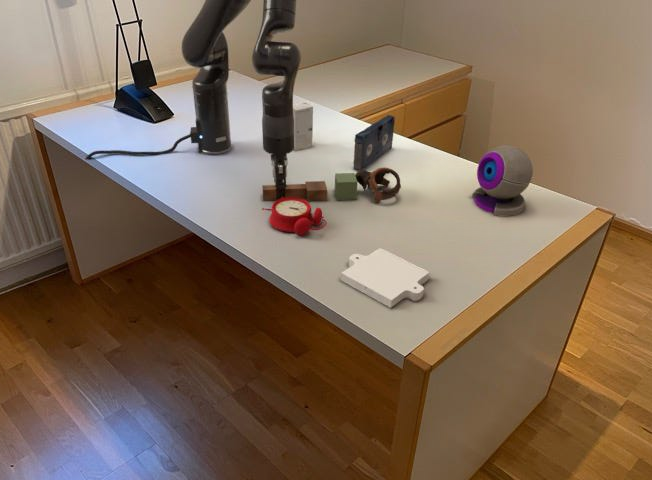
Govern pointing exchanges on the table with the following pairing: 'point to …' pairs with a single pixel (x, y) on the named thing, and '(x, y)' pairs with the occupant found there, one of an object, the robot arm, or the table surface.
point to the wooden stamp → (299, 191)
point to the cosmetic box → (303, 125)
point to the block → (345, 186)
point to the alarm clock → (294, 215)
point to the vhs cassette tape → (373, 142)
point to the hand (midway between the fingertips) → (279, 191)
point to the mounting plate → (385, 277)
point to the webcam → (503, 180)
